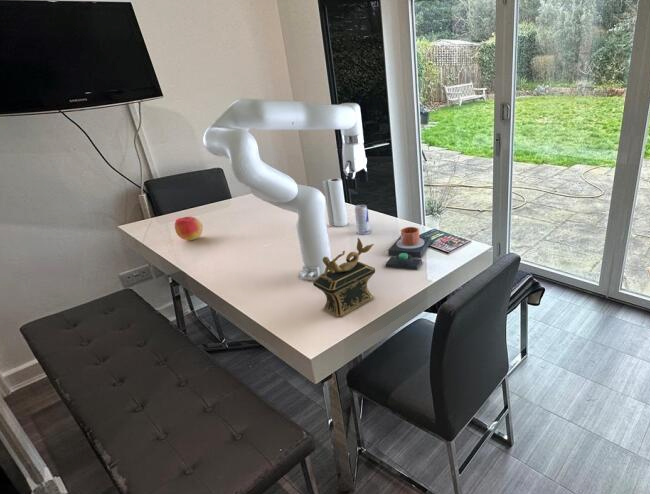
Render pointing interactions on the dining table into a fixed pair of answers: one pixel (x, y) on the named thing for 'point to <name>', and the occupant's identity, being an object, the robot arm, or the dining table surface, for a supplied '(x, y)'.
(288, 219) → the dining table surface
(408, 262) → the scale panel
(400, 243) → the scale
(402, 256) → the tare button
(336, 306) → the decorative box
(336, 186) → the paper towel roll
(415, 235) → the bowl
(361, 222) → the energy drink
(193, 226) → the apple
